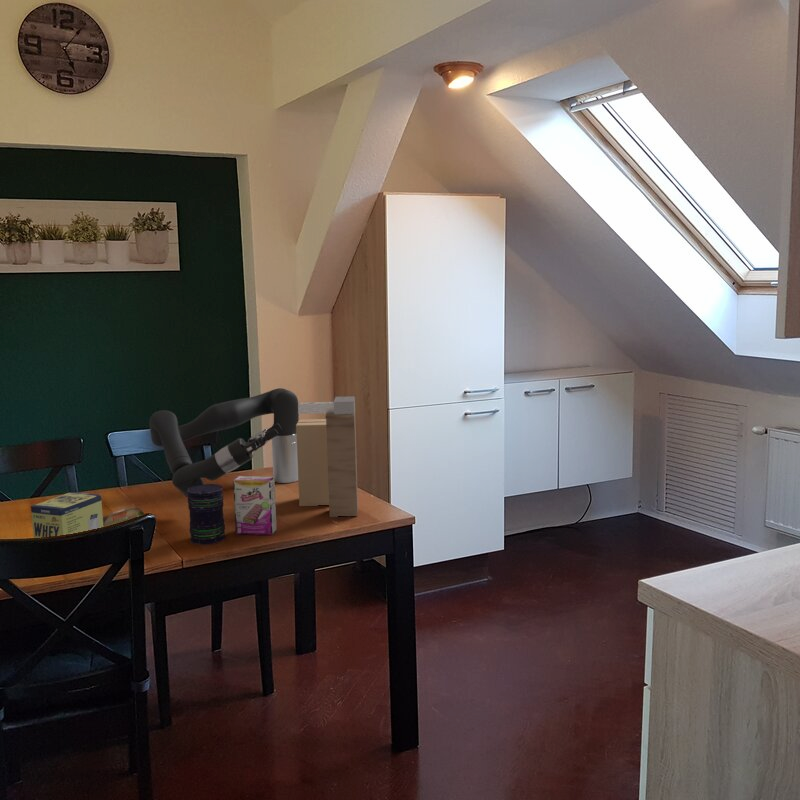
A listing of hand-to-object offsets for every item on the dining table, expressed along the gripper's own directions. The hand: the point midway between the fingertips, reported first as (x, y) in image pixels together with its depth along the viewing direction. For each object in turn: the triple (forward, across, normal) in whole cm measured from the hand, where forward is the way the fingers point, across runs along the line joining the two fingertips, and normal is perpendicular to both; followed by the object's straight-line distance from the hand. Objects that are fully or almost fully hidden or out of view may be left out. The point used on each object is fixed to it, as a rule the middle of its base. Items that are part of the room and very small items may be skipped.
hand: (278, 428), depth 256 cm
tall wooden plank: (+3, 0, -33) cm, 33 cm away
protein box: (-60, +32, +3) cm, 68 cm away
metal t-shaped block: (+15, 0, -3) cm, 15 cm away
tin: (-52, +19, -2) cm, 55 cm away
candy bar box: (-19, +17, -21) cm, 33 cm away
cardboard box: (-4, -14, -29) cm, 33 cm away
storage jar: (-30, +22, -15) cm, 40 cm away
